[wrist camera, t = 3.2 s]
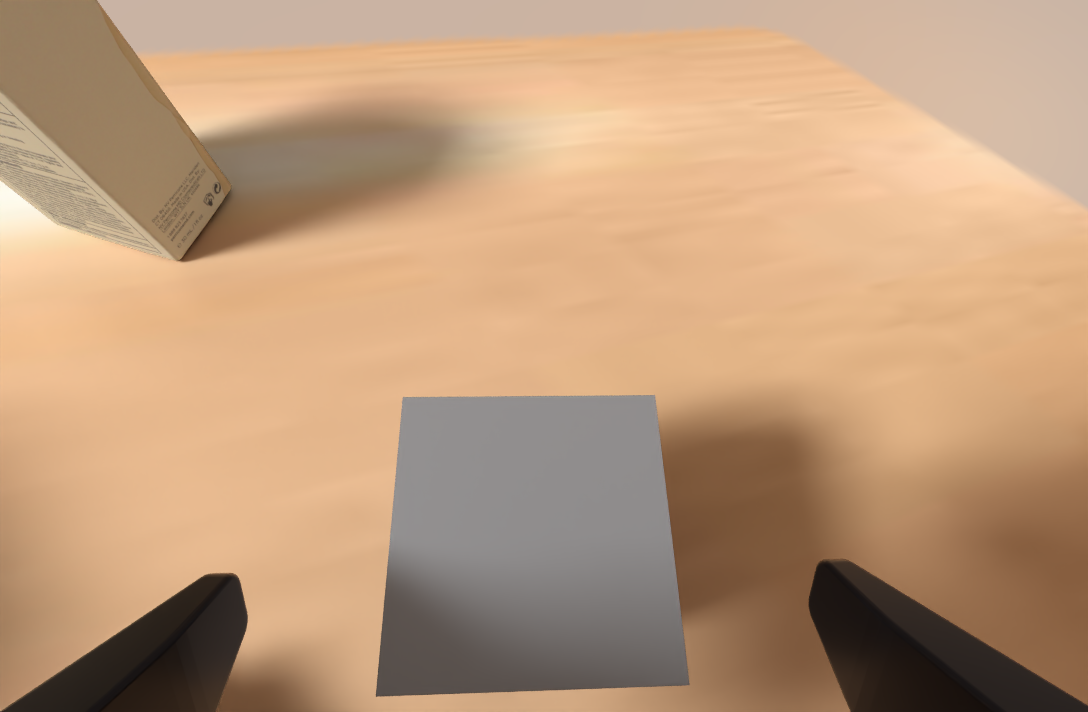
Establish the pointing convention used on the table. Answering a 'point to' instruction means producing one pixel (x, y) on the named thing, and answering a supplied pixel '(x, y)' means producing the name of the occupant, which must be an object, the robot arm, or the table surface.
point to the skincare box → (97, 132)
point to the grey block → (530, 548)
